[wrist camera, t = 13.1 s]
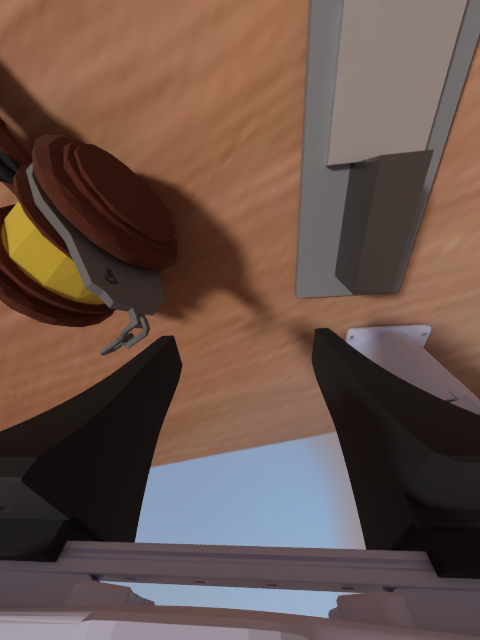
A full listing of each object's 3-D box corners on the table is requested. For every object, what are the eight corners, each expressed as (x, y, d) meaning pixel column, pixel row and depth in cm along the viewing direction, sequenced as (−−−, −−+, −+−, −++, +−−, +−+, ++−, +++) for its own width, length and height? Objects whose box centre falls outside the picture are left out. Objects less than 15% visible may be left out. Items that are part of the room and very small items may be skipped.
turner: (386, 272, 18) (417, 291, 15) (314, 277, 19) (328, 296, 15) (464, -18, 11) (564, -115, 7) (340, 2, 11) (380, -80, 8)
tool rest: (393, 288, 20) (398, 292, 19) (294, 294, 21) (296, 298, 20) (492, -45, 11) (509, -60, 10) (310, -13, 12) (313, -27, 11)
